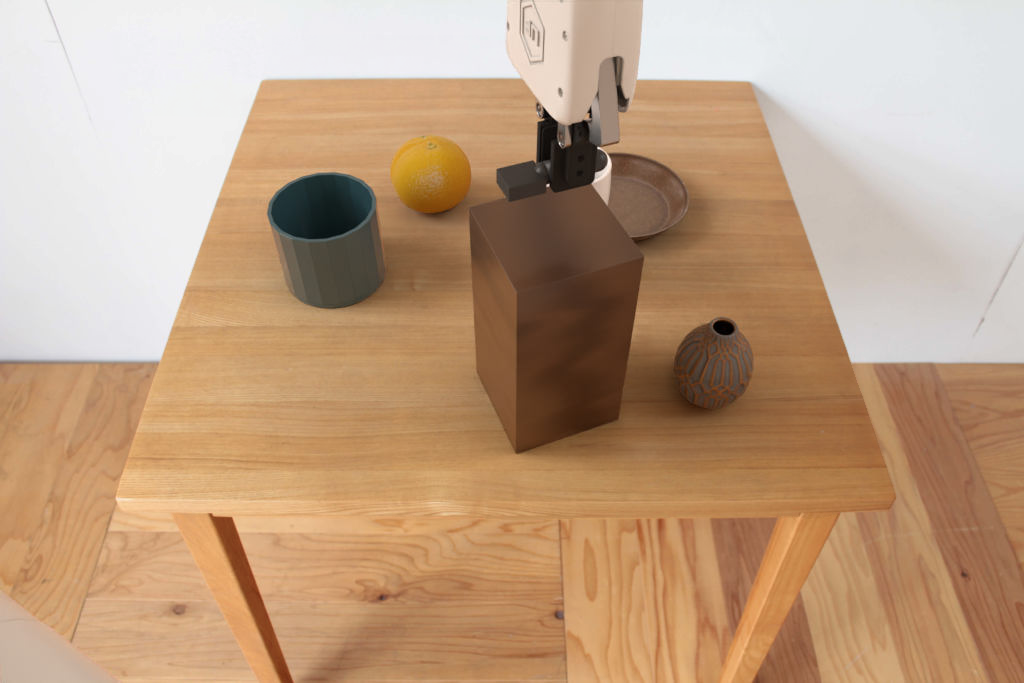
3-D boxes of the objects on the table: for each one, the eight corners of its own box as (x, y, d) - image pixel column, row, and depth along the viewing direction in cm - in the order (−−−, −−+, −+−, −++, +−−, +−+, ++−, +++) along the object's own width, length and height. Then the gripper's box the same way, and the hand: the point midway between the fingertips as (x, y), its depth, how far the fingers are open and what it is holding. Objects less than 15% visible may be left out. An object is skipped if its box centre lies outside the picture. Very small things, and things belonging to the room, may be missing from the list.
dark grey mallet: (508, 202, 58) (508, 183, 57) (496, 182, 59) (495, 163, 58) (613, 176, 60) (615, 158, 59) (598, 157, 61) (600, 139, 60)
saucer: (656, 161, 102) (659, 142, 100) (706, 241, 92) (711, 222, 90) (538, 181, 99) (538, 162, 97) (576, 266, 90) (578, 247, 88)
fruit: (449, 171, 100) (445, 112, 94) (485, 208, 96) (483, 149, 90) (382, 197, 97) (374, 138, 91) (415, 237, 93) (409, 177, 87)
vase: (665, 360, 81) (679, 296, 75) (738, 362, 81) (758, 298, 74) (672, 419, 77) (686, 356, 70) (749, 421, 77) (771, 359, 70)
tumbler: (298, 319, 85) (279, 253, 78) (276, 253, 91) (258, 186, 84) (398, 292, 87) (388, 225, 81) (371, 229, 94) (360, 162, 87)
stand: (515, 454, 74) (516, 293, 59) (476, 371, 80) (468, 206, 65) (618, 419, 77) (645, 256, 62) (573, 342, 83) (586, 176, 68)
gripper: (468, -141, 50) (476, 127, 64) (580, -27, 40) (561, 261, 54) (584, -157, 52) (567, 107, 66) (718, -52, 42) (665, 232, 56)
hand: (564, 175), depth 60 cm, fingers closed on dark grey mallet, 1 cm apart
